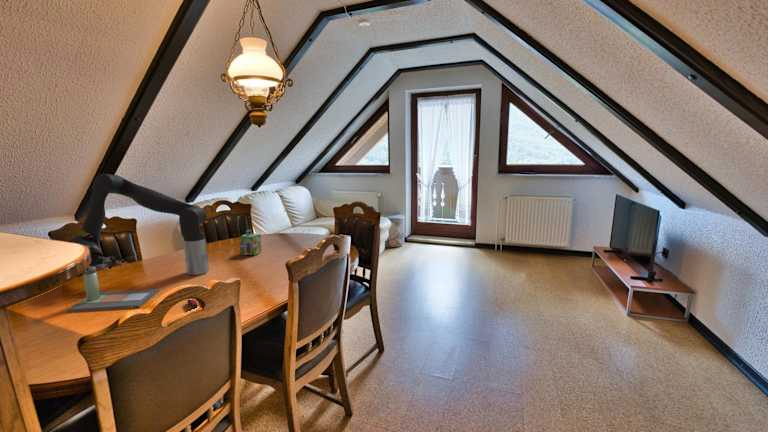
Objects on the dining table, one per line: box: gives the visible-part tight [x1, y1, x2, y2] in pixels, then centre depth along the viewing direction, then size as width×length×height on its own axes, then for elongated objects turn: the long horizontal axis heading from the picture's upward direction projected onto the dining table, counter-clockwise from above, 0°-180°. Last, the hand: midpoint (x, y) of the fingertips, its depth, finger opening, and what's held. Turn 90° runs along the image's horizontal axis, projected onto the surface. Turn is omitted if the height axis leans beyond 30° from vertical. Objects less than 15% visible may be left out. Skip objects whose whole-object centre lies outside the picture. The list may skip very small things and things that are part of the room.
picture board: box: [67, 288, 160, 313], centre depth 135 cm, size 24×16×1 cm, turn 101°
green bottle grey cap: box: [82, 266, 100, 301], centre depth 133 cm, size 4×4×13 cm
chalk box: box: [238, 228, 262, 256], centre depth 201 cm, size 9×9×15 cm
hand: (96, 268), depth 142 cm, fingers open, 8 cm apart
